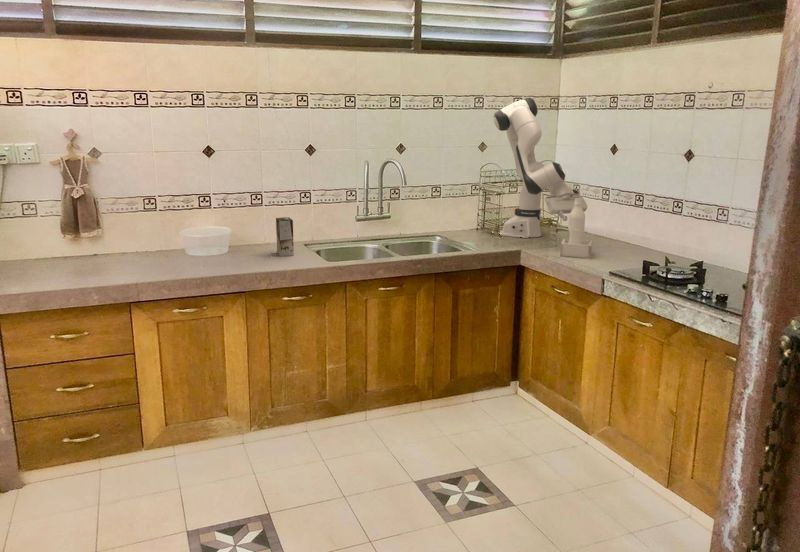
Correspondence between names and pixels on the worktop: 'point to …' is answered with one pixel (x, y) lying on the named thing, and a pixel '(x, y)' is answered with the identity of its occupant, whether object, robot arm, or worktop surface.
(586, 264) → the worktop surface
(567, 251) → the box
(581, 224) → the water bottle
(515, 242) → the worktop surface
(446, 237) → the worktop surface
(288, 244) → the coffee box
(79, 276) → the worktop surface
